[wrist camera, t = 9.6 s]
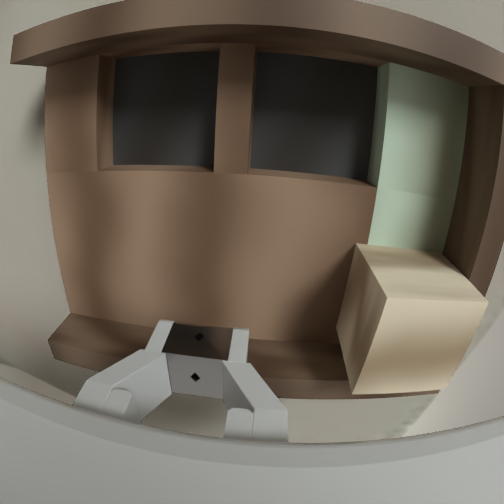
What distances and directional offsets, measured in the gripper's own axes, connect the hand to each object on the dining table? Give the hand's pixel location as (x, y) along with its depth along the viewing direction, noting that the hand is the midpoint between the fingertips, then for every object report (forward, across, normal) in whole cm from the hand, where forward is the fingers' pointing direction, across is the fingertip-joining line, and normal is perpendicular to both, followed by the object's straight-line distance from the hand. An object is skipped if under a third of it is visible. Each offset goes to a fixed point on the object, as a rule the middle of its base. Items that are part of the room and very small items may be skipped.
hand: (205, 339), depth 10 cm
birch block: (+6, -9, +1) cm, 10 cm away
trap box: (+8, -1, -3) cm, 8 cm away
